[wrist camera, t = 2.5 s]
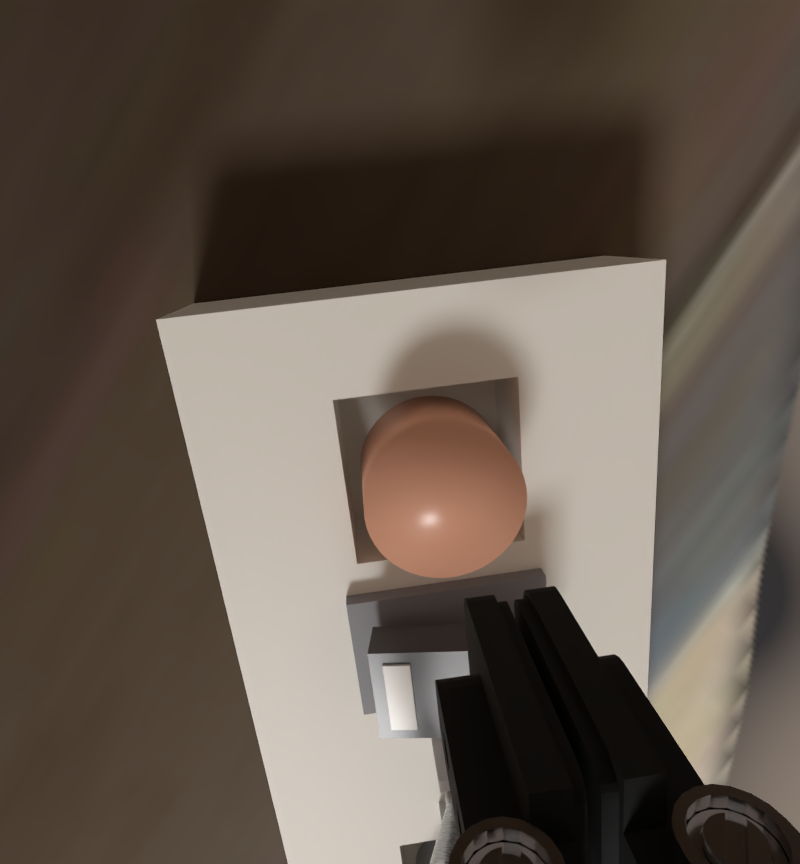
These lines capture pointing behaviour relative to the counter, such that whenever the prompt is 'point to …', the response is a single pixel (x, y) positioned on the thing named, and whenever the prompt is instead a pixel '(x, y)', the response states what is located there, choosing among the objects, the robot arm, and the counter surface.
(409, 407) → the terracotta button
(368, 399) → the control panel
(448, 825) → the toggle lever
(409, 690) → the black rocker
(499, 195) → the counter surface
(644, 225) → the counter surface
